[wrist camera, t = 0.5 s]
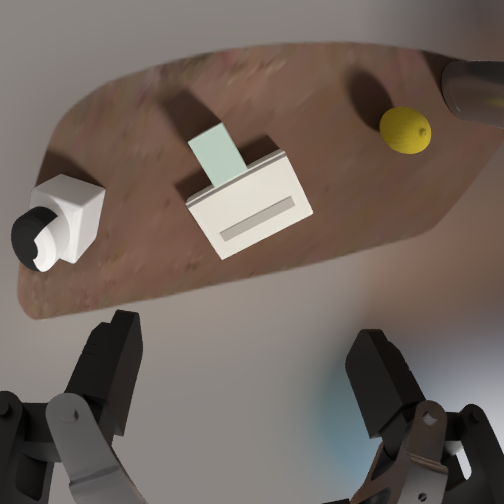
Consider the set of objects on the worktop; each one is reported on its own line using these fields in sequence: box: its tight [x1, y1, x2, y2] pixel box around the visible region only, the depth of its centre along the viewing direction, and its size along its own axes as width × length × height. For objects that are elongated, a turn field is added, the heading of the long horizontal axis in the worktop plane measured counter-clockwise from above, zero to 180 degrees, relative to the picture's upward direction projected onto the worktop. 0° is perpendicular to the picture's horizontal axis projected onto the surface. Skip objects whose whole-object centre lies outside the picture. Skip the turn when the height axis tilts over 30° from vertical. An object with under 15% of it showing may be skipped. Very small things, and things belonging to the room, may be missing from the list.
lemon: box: [380, 107, 431, 154], centre depth 27 cm, size 6×6×8 cm
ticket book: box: [186, 149, 313, 260], centre depth 33 cm, size 12×8×2 cm, turn 118°
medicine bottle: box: [11, 174, 105, 272], centre depth 26 cm, size 7×7×12 cm
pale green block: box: [188, 122, 248, 187], centre depth 28 cm, size 4×5×6 cm
